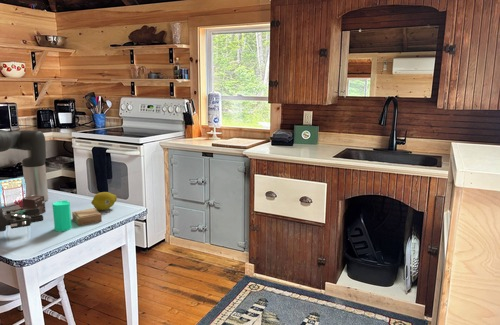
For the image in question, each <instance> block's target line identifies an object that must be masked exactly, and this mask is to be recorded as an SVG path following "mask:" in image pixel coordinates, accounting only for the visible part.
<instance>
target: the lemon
mask: <svg viewBox="0 0 500 325" xmlns="http://www.w3.org/2000/svg"><path fill="white" fill-rule="evenodd" d="M117 199H118V197H117V195H116V194H113V193H111V192H108V191H102V192H98V193H96V194H95V195H94V196H93V198H92V200H91V204H92V205H93V208H95V209H96V210H97V211H106V210H108V209H110V208H112V207H113V206H114V205H115V203H116V202H117Z"/></svg>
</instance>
